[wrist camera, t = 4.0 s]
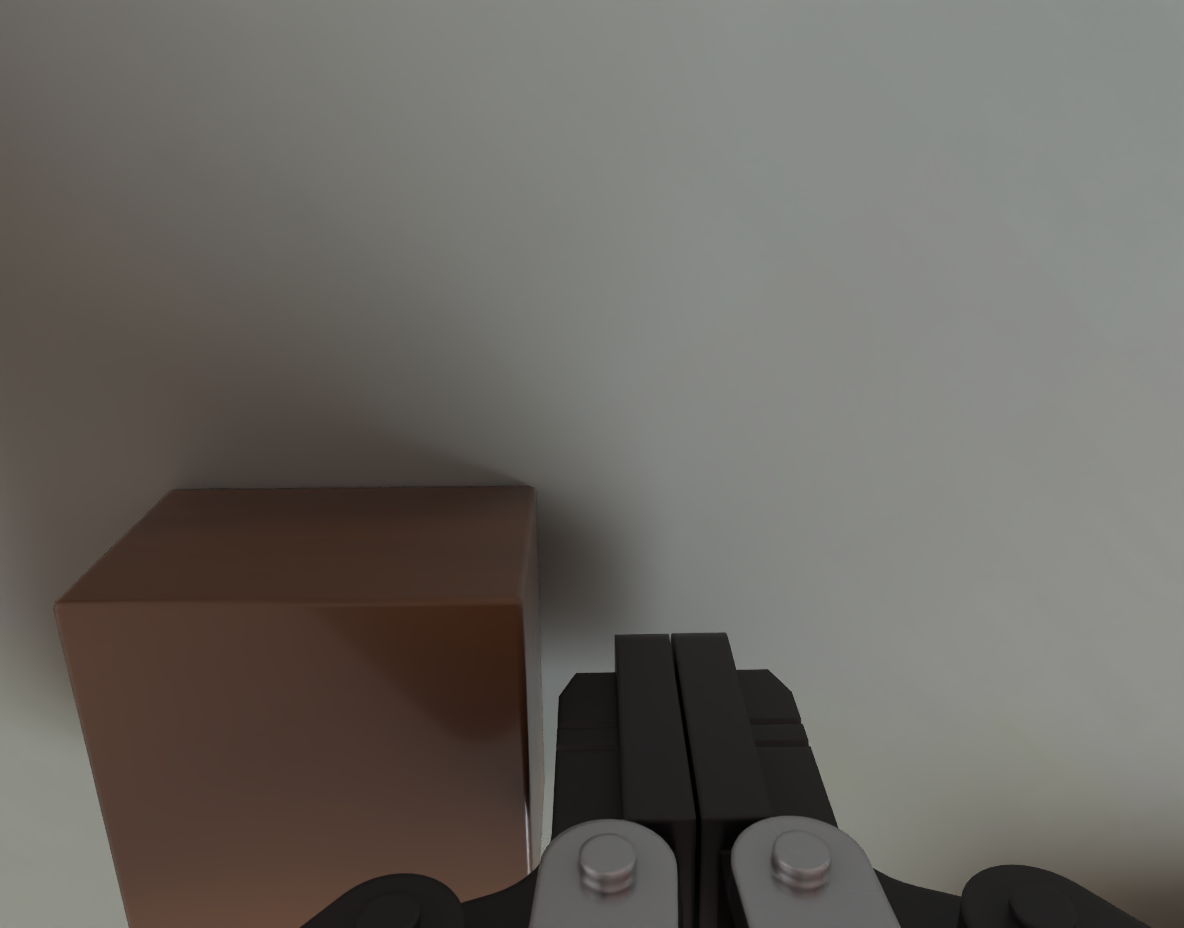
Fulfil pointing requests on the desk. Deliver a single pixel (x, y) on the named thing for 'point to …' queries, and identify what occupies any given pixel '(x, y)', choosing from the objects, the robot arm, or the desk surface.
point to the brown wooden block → (312, 697)
